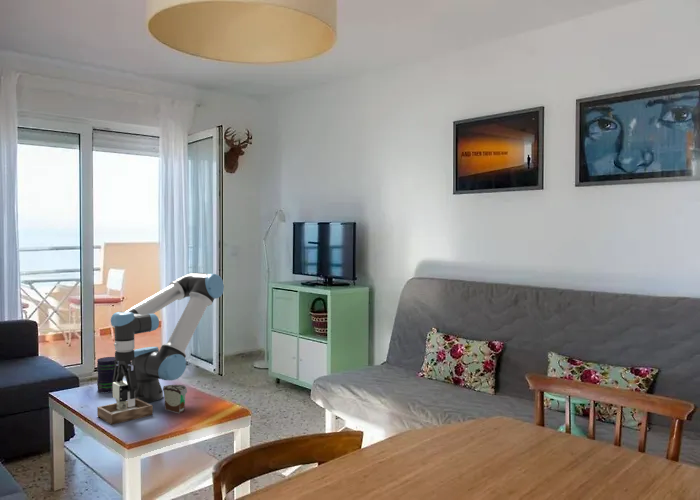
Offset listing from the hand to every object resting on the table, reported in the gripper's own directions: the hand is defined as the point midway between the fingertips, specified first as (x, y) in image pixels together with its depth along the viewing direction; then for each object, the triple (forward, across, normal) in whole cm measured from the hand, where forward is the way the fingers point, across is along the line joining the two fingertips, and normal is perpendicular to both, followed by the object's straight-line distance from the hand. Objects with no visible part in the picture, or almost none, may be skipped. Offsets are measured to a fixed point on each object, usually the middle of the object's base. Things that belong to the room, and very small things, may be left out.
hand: (125, 403), depth 234 cm
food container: (+5, +8, +19) cm, 22 cm away
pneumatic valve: (+3, -1, -1) cm, 3 cm away
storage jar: (+5, -44, +11) cm, 46 cm away
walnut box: (+5, 0, 0) cm, 5 cm away
